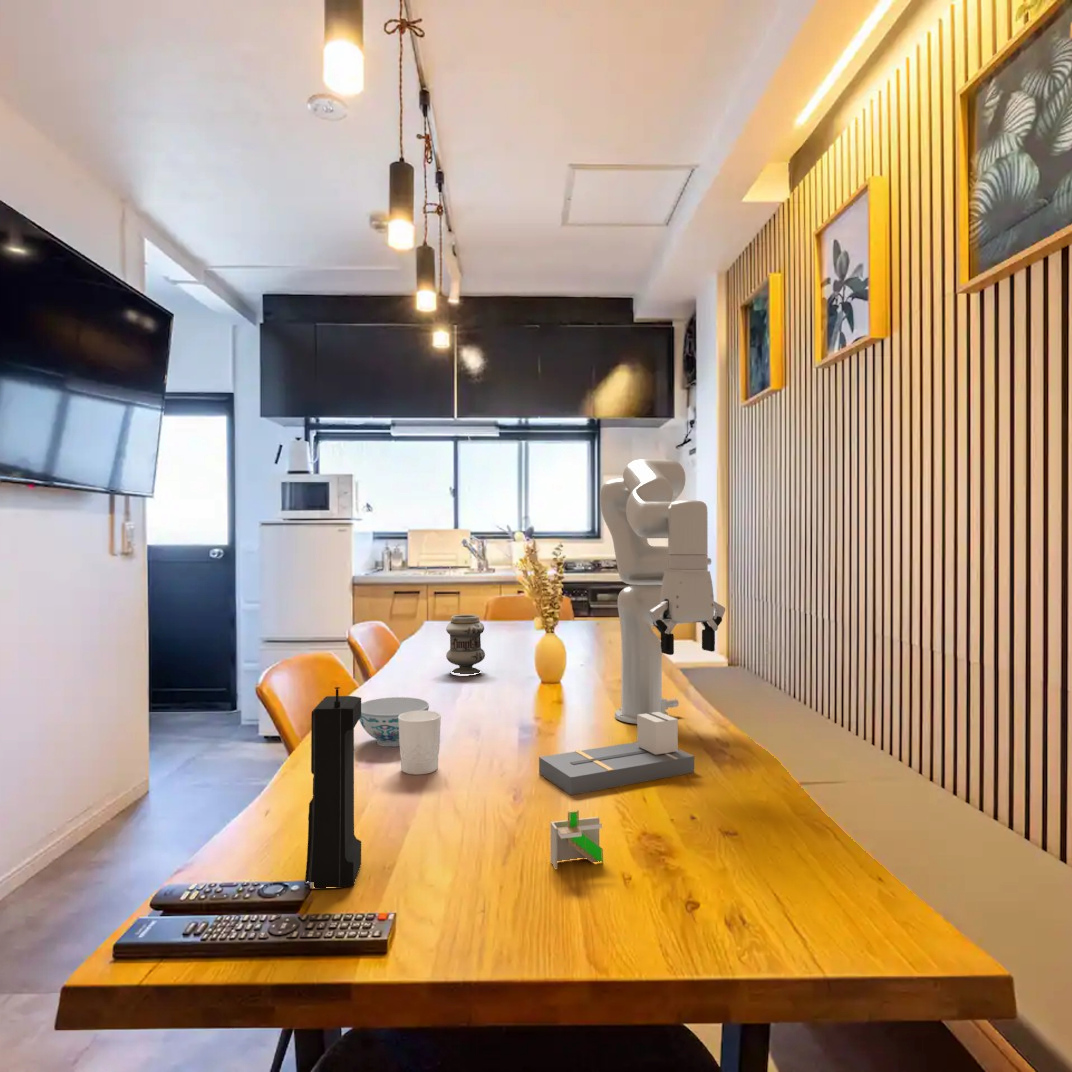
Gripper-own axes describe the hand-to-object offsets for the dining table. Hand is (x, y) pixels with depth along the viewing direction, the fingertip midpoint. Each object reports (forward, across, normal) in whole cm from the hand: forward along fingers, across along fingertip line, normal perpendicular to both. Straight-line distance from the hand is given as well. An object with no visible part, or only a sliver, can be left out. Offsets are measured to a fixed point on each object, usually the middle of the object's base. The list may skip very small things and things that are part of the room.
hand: (688, 652), depth 139 cm
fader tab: (+18, +7, 0) cm, 19 cm away
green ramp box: (+22, +40, +29) cm, 54 cm away
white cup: (+21, +49, -17) cm, 56 cm away
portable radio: (+22, +70, +18) cm, 76 cm away
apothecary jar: (+20, +11, -98) cm, 100 cm away
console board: (+21, +16, 0) cm, 27 cm away
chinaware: (+21, +49, -36) cm, 64 cm away
